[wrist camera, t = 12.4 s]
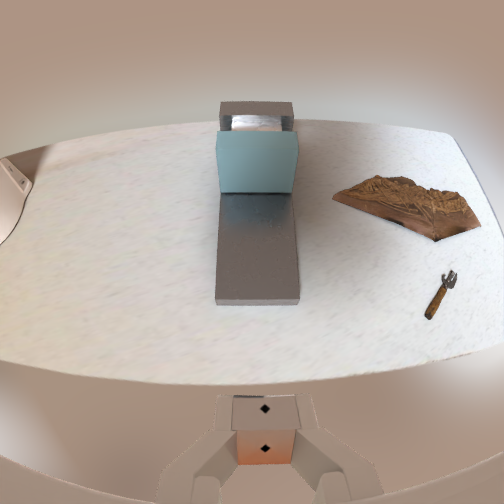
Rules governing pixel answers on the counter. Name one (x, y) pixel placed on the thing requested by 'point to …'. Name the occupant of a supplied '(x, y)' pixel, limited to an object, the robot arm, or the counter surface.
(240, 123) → the steel block
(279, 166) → the slide jaw
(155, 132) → the counter surface
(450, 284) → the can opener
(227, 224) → the vise bed
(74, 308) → the counter surface
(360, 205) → the wooden fragment
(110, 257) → the counter surface
